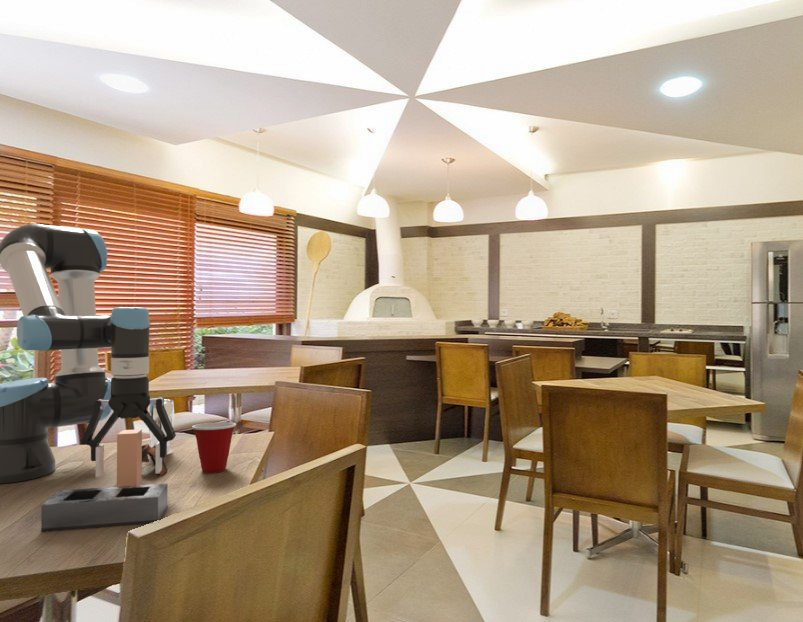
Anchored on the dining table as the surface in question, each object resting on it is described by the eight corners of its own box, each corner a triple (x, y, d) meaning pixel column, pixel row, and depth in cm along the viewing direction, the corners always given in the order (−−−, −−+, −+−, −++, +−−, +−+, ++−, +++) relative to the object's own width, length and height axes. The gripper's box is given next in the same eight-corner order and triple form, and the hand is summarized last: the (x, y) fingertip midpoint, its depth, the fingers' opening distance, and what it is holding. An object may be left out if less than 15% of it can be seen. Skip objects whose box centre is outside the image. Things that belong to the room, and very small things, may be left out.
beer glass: (141, 455, 145) (141, 402, 145) (159, 449, 152) (160, 398, 152) (161, 457, 143) (162, 404, 143) (179, 451, 149) (179, 400, 150)
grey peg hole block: (41, 532, 94) (41, 504, 94) (59, 515, 102) (60, 490, 102) (158, 522, 99) (158, 496, 99) (167, 507, 107) (167, 483, 107)
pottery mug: (159, 481, 125) (140, 454, 123) (128, 496, 126) (109, 469, 124) (182, 455, 136) (165, 430, 135) (153, 469, 138) (136, 444, 136)
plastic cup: (236, 462, 139) (237, 418, 139) (235, 474, 129) (235, 426, 129) (194, 465, 136) (194, 420, 136) (188, 477, 126) (189, 429, 126)
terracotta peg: (116, 498, 112) (117, 434, 112) (122, 491, 116) (122, 430, 116) (136, 496, 113) (136, 433, 113) (141, 490, 117) (141, 429, 117)
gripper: (63, 379, 108) (62, 482, 108) (183, 376, 113) (183, 475, 113) (77, 375, 115) (76, 471, 115) (189, 372, 121) (189, 465, 121)
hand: (129, 473), depth 114 cm, fingers open, 11 cm apart
